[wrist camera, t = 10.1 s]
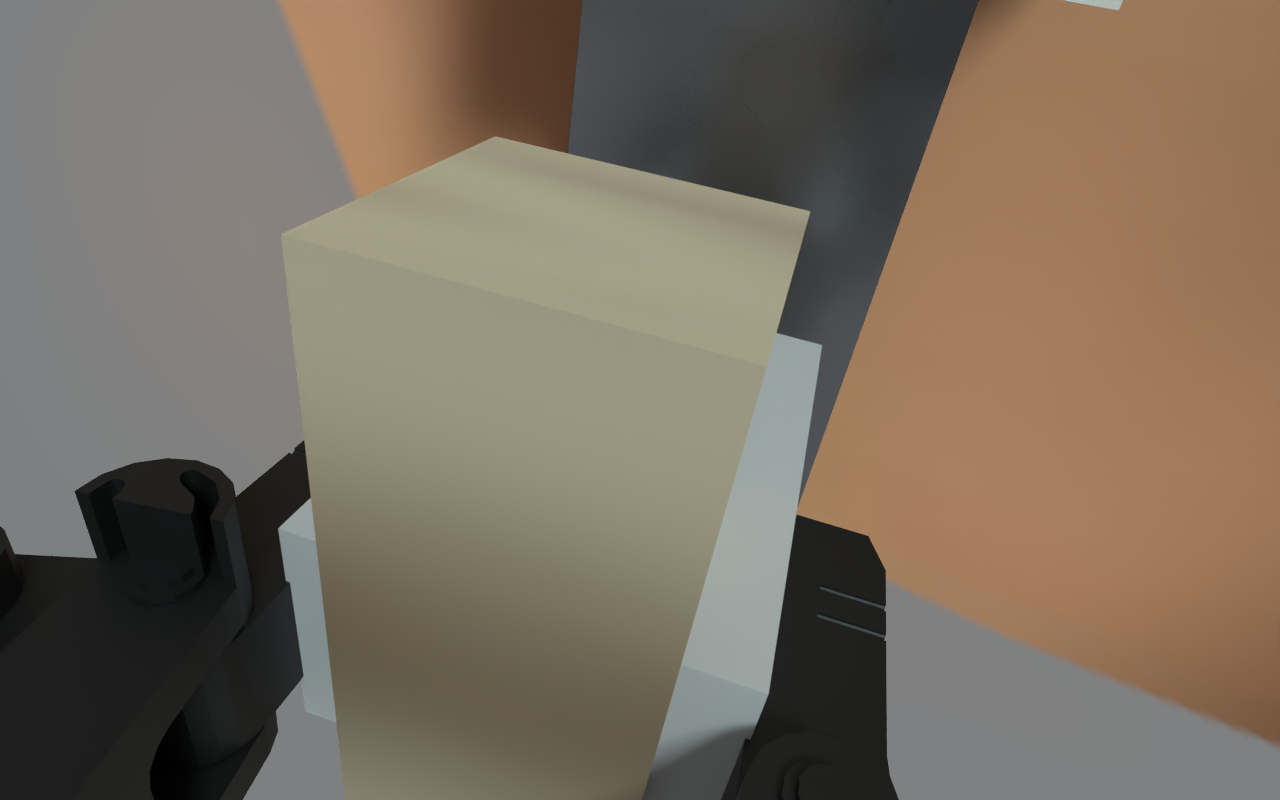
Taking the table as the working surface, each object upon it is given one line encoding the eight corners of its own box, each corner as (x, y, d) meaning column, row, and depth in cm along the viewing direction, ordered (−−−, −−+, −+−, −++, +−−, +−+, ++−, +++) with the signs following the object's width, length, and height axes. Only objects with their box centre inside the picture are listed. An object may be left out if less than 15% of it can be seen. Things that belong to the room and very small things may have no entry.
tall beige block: (771, 574, 18) (678, 1102, 10) (538, 501, 19) (269, 925, 10) (1058, -234, 10) (2063, -1331, 1) (620, -297, 11) (-287, -1190, 2)
